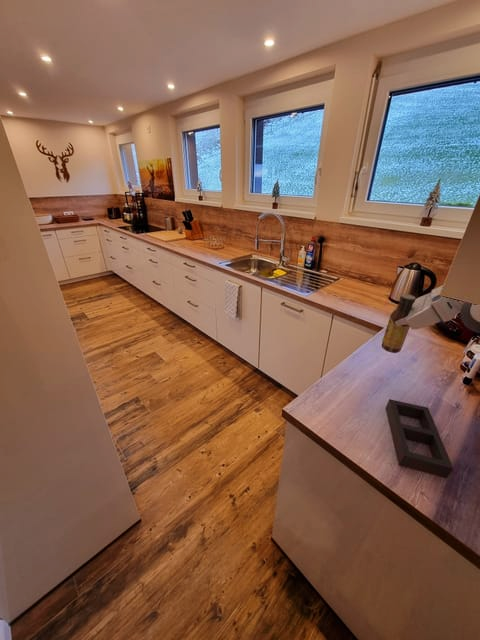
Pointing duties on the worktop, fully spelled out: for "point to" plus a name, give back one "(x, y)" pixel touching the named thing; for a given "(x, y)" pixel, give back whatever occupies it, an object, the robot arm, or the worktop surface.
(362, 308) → the worktop surface
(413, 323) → the robot arm
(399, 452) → the caddy
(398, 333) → the sauce bottle
